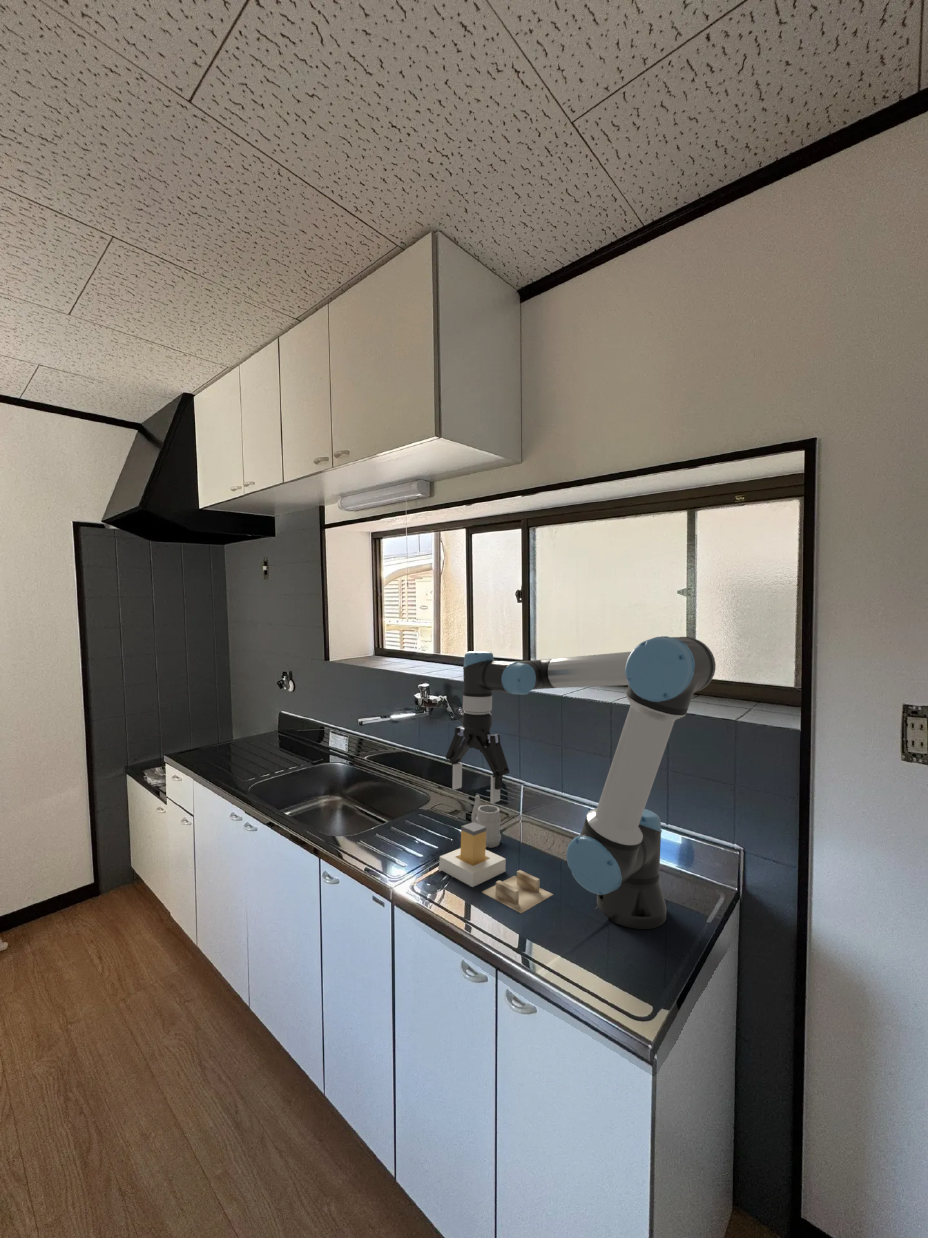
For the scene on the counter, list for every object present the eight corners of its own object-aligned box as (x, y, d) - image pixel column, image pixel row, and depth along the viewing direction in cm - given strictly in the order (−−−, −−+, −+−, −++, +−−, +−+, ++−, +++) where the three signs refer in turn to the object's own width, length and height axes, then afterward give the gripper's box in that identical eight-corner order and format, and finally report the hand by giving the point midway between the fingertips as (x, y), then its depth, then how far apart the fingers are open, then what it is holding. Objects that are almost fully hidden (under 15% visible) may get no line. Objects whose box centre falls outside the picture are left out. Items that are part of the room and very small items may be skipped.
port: (505, 874, 135) (505, 858, 135) (472, 890, 127) (472, 873, 127) (471, 858, 144) (472, 843, 144) (439, 872, 136) (439, 856, 136)
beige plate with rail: (553, 898, 125) (553, 881, 125) (520, 917, 116) (521, 899, 116) (514, 878, 133) (514, 863, 133) (481, 895, 125) (482, 879, 125)
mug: (484, 850, 149) (486, 808, 149) (461, 835, 159) (463, 795, 159) (506, 844, 153) (507, 803, 153) (482, 830, 163) (483, 791, 163)
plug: (484, 873, 135) (486, 827, 135) (472, 879, 132) (473, 831, 132) (472, 867, 139) (473, 822, 139) (459, 873, 135) (461, 826, 135)
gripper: (524, 717, 129) (522, 804, 129) (454, 704, 147) (452, 780, 147) (504, 720, 124) (502, 811, 124) (434, 706, 142) (432, 786, 141)
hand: (475, 795), depth 135 cm, fingers open, 13 cm apart
